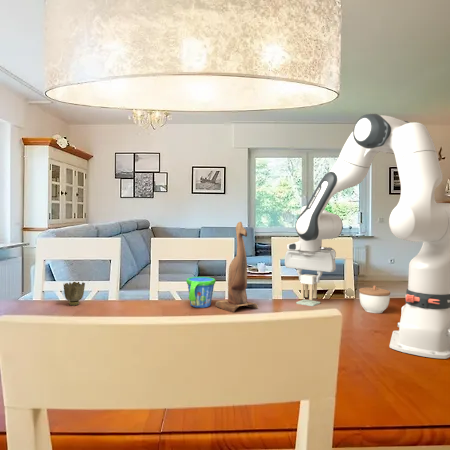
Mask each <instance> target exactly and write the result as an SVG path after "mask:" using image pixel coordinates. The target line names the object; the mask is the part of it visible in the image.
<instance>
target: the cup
mask: <svg viewBox="0 0 450 450" xmlns="http://www.w3.org/2000/svg"><path fill="white" fill-rule="evenodd" d="M85 286H86V282H84V281H82V283H80V281H77V282H76V281H73V282H71V281H70V282H64V284H63V292H64V293H63V294H64V297H65V299H66V300H67V301H68V305H69V306H71V307H72V306H73V307H74V306H78V305H79V304H80V301H81V300H82V299H83V297H84V293H85Z"/></svg>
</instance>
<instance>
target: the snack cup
mask: <svg viewBox="0 0 450 450" xmlns="http://www.w3.org/2000/svg"><path fill="white" fill-rule="evenodd" d="M185 282H186V284H187V286H188V287H187V289H188V299H189V304H190V307H193V308H195V309H196V308H198V309H199V308H201V309H204V308H208V307H210V306H211V305H212V298H213V293H214V287H215V284H216V279H215V278H213V277H210V276H191V277H188V278H186V281H185Z"/></svg>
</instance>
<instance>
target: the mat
mask: <svg viewBox="0 0 450 450" xmlns="http://www.w3.org/2000/svg"><path fill="white" fill-rule="evenodd" d="M295 304H296V305H301V306H302V305H303V306H309V307H315V306H318V305H320V304H321V301H318V300H309V299H305V298H304V299H301V300H299V301H296V303H295Z"/></svg>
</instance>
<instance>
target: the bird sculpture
mask: <svg viewBox="0 0 450 450" xmlns="http://www.w3.org/2000/svg"><path fill="white" fill-rule="evenodd" d="M235 231H236V232H235V234H236V255H235V256H234V258H233V259H232V260H231V262H230V264H229V266H228V278H227V299H223V300H222V299H220V300H217V301H215V307H217V308H218V309H222V310H225V311H227V312H232V313H233V314H234V313H235V312H236V310H237V309H239V307H242V306H244V307H245V306H246V307H249V308H254V309H258V308H259V307H258V306H259V305H258V304H257V303H254V302H250V301H248V295H247V287H248V260H247V251H246V247H245V246H246V245H245V240H244V237H246V238H247V237H248V231H247V229H246V228H245V227H244V225H243V223H242V221H238V222H237V223H236V225H235Z"/></svg>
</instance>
